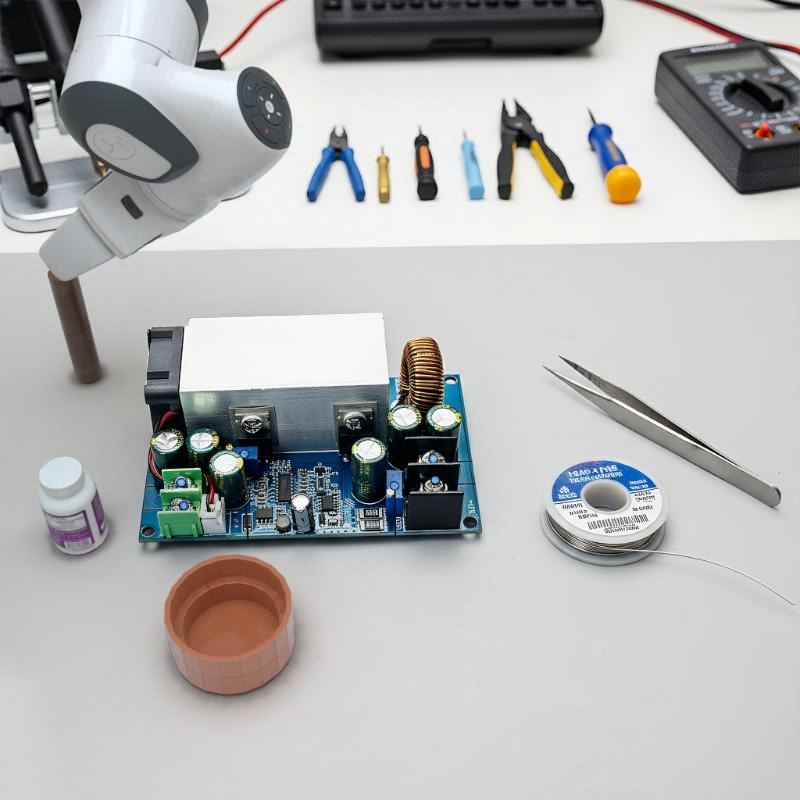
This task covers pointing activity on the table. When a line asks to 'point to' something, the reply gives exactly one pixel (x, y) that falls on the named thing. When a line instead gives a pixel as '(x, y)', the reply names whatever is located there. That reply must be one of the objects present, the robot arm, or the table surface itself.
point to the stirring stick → (76, 328)
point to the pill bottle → (71, 506)
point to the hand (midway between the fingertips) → (89, 236)
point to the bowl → (230, 623)
